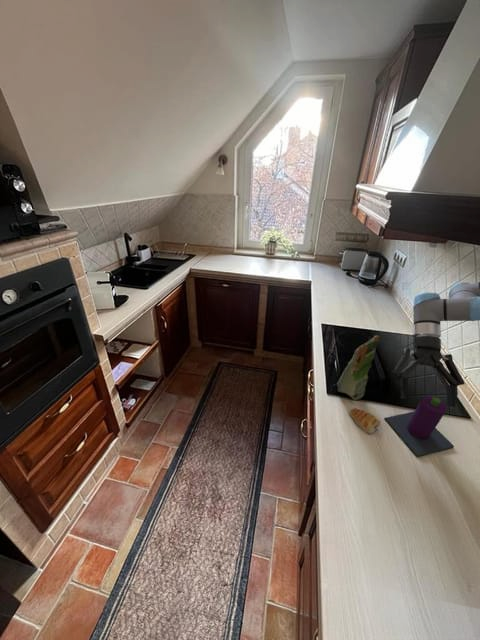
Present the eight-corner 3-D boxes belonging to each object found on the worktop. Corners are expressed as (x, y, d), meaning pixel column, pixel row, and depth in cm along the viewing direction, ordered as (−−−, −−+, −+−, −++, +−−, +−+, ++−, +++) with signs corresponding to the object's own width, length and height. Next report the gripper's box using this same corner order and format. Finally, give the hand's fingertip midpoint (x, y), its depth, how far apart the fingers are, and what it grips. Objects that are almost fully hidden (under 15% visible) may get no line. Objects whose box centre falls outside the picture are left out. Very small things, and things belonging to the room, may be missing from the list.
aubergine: (417, 421, 87) (436, 389, 79) (434, 437, 82) (455, 405, 74) (402, 424, 86) (419, 393, 78) (417, 441, 80) (437, 409, 72)
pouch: (361, 382, 103) (380, 331, 91) (369, 405, 93) (391, 351, 81) (333, 378, 105) (347, 327, 92) (338, 401, 95) (355, 347, 82)
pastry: (345, 416, 89) (347, 409, 87) (356, 408, 92) (358, 400, 90) (370, 436, 82) (373, 429, 80) (381, 426, 86) (384, 418, 84)
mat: (417, 412, 91) (418, 410, 91) (453, 447, 80) (454, 446, 79) (384, 419, 88) (384, 417, 88) (416, 457, 77) (417, 455, 76)
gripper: (460, 344, 87) (463, 408, 82) (382, 334, 91) (380, 395, 86) (477, 340, 80) (481, 410, 75) (391, 330, 84) (390, 395, 79)
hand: (427, 402), depth 81 cm, fingers open, 13 cm apart
